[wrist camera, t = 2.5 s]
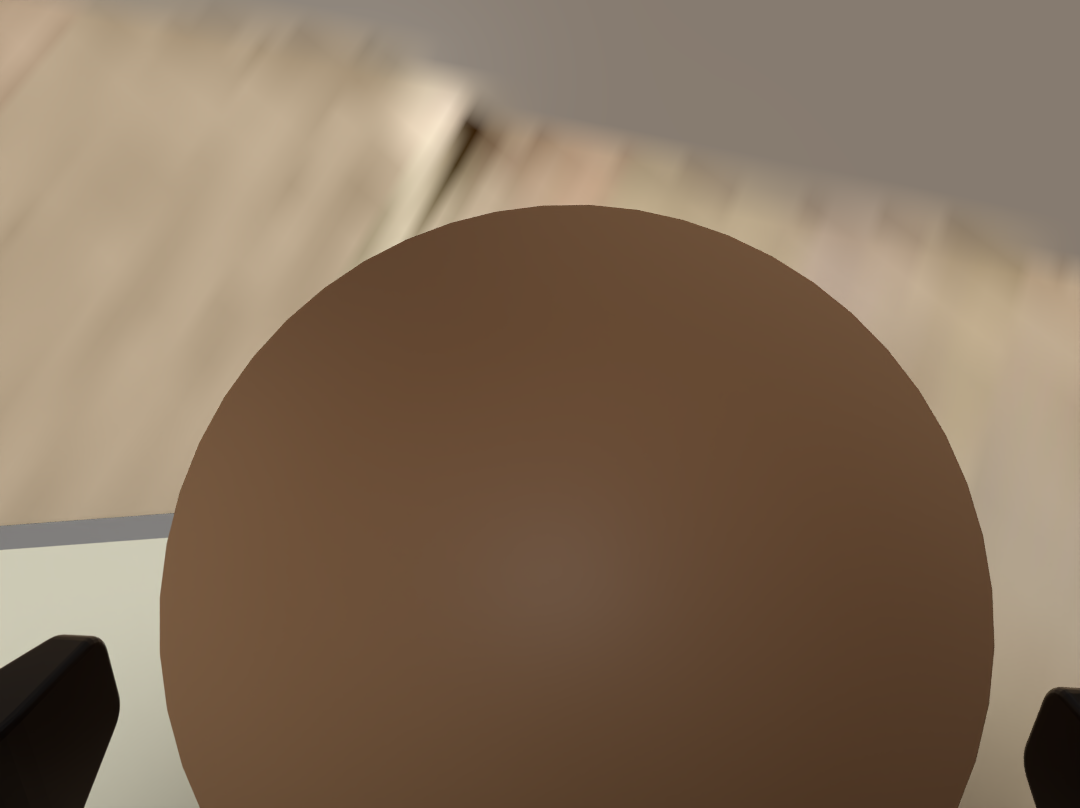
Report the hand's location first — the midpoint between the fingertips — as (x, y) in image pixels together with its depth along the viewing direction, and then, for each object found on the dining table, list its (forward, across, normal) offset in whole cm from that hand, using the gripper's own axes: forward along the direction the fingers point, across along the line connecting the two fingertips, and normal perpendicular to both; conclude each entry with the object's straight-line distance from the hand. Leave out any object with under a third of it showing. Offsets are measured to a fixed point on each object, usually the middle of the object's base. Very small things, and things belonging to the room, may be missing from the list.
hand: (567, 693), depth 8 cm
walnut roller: (+6, 0, +6) cm, 9 cm away
